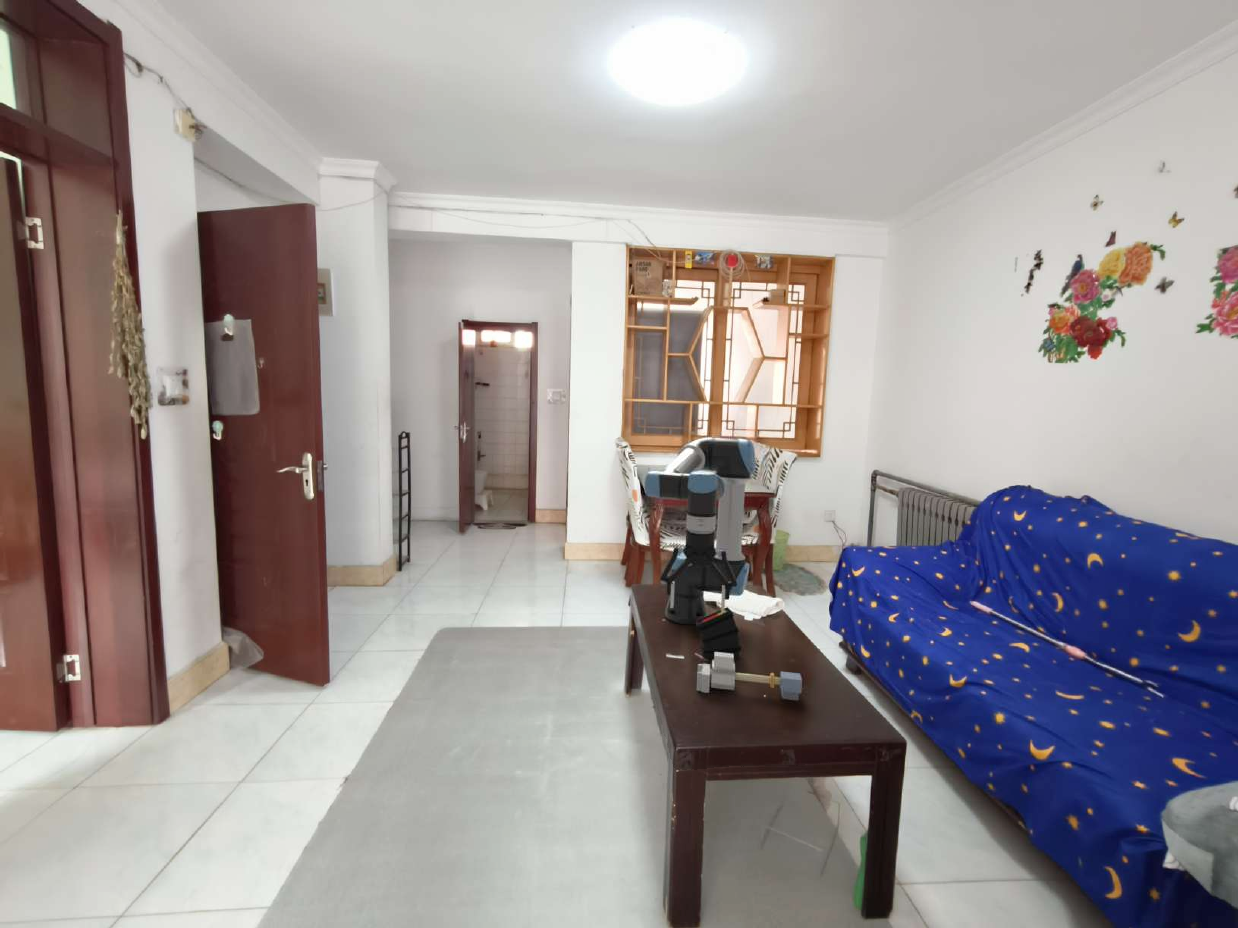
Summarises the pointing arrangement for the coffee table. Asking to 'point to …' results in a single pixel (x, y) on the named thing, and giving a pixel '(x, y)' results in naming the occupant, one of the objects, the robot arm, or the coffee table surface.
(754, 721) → the coffee table surface
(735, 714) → the coffee table surface
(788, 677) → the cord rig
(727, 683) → the white stepped block
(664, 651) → the coffee table surface
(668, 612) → the robot arm
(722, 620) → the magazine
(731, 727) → the coffee table surface
